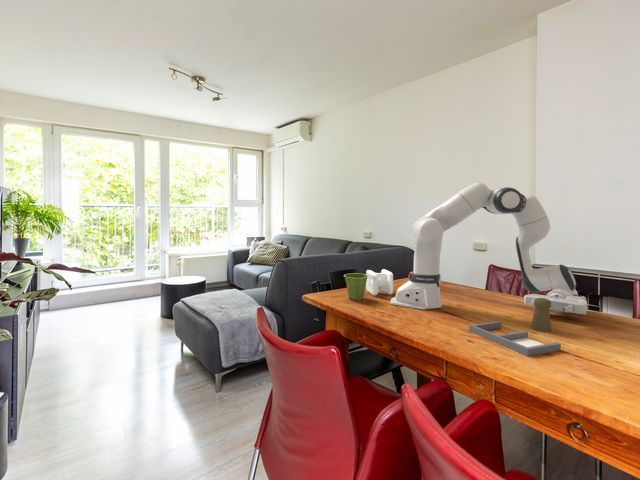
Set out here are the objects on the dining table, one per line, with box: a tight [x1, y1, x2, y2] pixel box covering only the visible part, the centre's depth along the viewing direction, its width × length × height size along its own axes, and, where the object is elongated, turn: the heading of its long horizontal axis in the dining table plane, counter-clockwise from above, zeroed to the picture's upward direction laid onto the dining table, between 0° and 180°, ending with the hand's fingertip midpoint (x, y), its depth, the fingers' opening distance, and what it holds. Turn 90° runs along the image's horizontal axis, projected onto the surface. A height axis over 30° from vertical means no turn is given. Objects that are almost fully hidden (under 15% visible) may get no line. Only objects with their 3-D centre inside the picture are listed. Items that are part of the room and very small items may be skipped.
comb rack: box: [468, 320, 562, 357], centre depth 110 cm, size 13×23×2 cm, turn 19°
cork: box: [530, 298, 552, 333], centre depth 120 cm, size 6×6×11 cm
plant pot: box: [343, 272, 368, 301], centre depth 164 cm, size 12×12×11 cm
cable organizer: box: [365, 268, 394, 297], centre depth 174 cm, size 15×11×12 cm
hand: (549, 307), depth 127 cm, fingers open, 8 cm apart
